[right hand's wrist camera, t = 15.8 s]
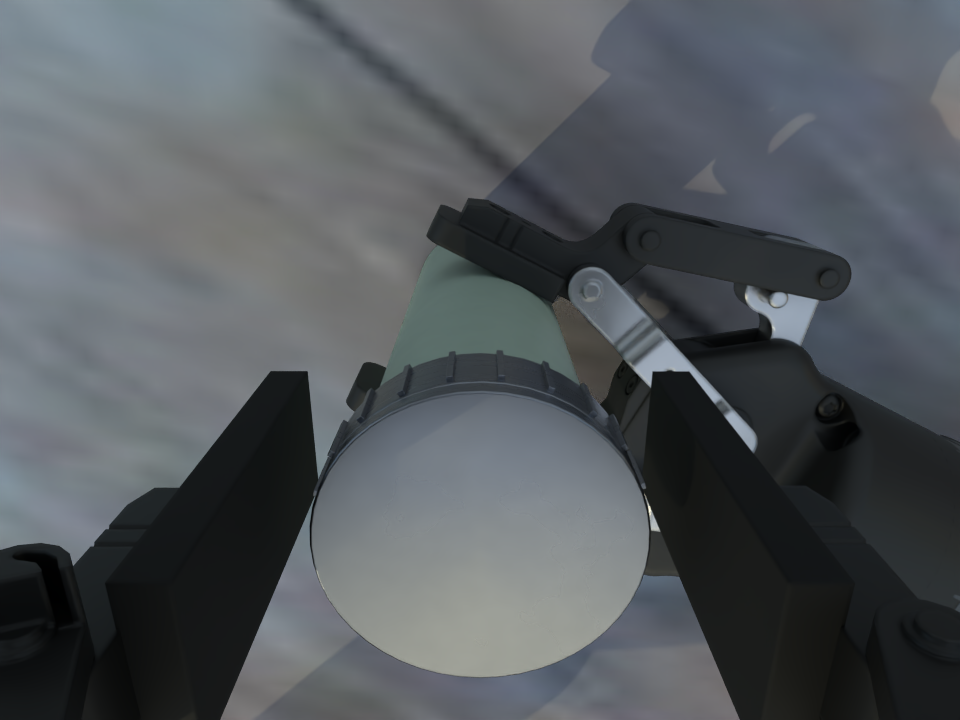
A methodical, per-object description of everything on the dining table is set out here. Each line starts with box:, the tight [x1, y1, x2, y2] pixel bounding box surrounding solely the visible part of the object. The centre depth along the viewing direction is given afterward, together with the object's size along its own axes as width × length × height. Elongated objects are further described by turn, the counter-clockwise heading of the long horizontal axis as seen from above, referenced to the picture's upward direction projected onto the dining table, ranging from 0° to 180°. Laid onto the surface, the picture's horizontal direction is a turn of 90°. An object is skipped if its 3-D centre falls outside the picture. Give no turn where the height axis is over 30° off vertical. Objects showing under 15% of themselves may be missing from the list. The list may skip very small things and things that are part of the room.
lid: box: [310, 350, 651, 678], centre depth 11 cm, size 5×6×2 cm
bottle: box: [380, 245, 580, 386], centre depth 18 cm, size 5×5×15 cm
